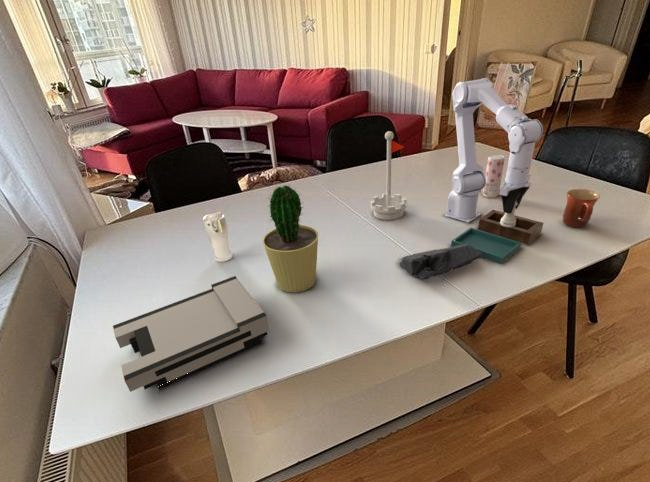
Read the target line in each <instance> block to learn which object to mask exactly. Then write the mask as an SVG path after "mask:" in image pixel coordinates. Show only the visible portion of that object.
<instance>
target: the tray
mask: <svg viewBox="0 0 650 482" xmlns="http://www.w3.org/2000/svg"><path fill="white" fill-rule="evenodd" d="M457 245H470V246H472V247H474V249H477V250H478V251H480V252H482V254H483V256H482V257H481V258H484V259H486V260H489V261H492V262H495V263H498V264H501V265H502V264H503V263H505V262H506V261H508V259H510V258H511V257H512V256H514V255H515V254H516V253H517V252H518V251H519V250H520V249H521V247H522V243H521V242H517V241H514V240H511V239H507V238H504V237H501V236H497V235H494V234H491V233H488V232H484V231H481V230H478V228H475V227H469V228H468V229H466V230H465V231H463V232H462V233H460V234H459V235H457V236H456V237H455V238H453V239H452V240H451V243H450V247H453V246H457Z"/></svg>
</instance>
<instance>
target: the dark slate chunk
mask: <svg viewBox="0 0 650 482" xmlns="http://www.w3.org/2000/svg"><path fill="white" fill-rule="evenodd" d="M482 256H483V254H482V252H480V251H478V250H477V249H474V247H472V246H470V245H457V246H453V247H452V246H450V247H446V248H440V249H431V250H428V251H427V250H426V251H422V252H418V253H417V252H416V253H413V254H409V255H405V256H403V257H402V258H401V260H400V262H399V266H400V267H401V269H404V270H405V272H406V273H408V274H409V275H410V276H413V277H416V278H417V279H418V278H419V279H421V280H428V279H430V277H437V276H440V275H443V274H447V273H449V272H451V271H452V270H453V271H454V270H455V269H456V270H457V269H460V268H462V267H464V266H468V265H470V264H472V263H473V262H475V261H477V260H479V259H481V258H483V257H482ZM427 269H429V270H427Z"/></svg>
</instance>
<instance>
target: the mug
mask: <svg viewBox="0 0 650 482" xmlns="http://www.w3.org/2000/svg"><path fill="white" fill-rule="evenodd" d="M600 197H601V195H600V193H599V192H596V191H595V190H590V189H585V188H574V189H569V190H567V192H566V204H565V208H564V211H563V214H562V223H563V224H564V225H565V226H568V227H570V228H576V229H581V228H584V227H586V226H588V224H589V222H590V220H591V218H592V217H591V216H592V215H593V211H594V207H595V205H596V203H597V201H598V200H599V199H600Z"/></svg>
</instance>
